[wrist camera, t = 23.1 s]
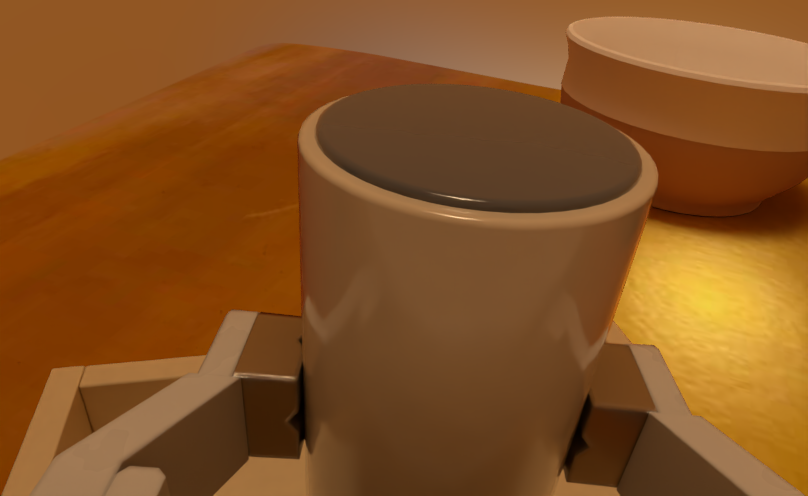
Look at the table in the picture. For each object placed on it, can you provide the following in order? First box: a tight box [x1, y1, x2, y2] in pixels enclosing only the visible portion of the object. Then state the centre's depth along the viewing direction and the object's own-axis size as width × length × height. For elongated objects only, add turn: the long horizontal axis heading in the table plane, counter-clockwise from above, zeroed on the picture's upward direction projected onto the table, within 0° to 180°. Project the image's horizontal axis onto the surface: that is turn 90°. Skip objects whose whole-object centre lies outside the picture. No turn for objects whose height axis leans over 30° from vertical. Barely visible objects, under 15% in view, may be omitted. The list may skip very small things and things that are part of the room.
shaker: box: [297, 84, 659, 496], centre depth 10 cm, size 4×4×10 cm
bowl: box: [561, 17, 808, 217], centre depth 34 cm, size 16×16×8 cm
